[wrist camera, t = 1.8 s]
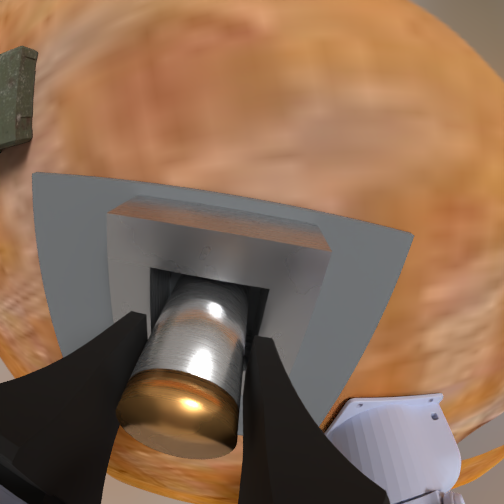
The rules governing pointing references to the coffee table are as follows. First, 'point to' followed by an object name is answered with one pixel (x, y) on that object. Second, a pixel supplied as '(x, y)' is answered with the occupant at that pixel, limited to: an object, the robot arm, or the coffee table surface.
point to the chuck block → (217, 263)
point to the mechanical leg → (16, 95)
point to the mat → (325, 311)
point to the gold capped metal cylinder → (190, 372)
